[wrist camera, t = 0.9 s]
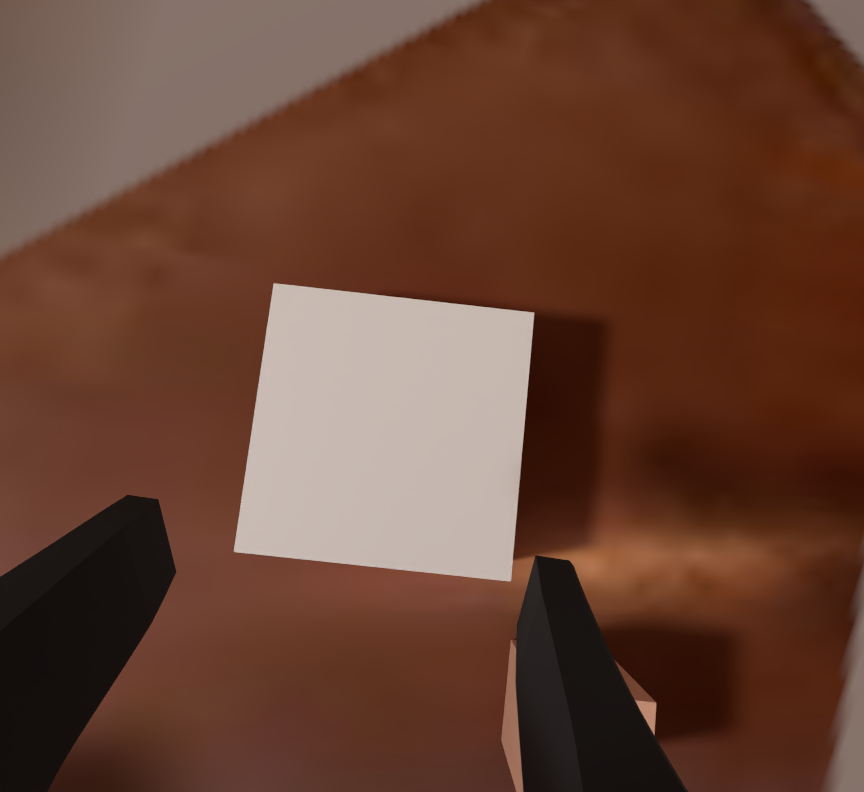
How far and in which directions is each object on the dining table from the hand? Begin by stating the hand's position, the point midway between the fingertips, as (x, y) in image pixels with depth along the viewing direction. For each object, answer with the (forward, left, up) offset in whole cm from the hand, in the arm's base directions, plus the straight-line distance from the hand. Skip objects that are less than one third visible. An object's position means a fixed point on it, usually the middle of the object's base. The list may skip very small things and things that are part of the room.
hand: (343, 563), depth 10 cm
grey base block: (+3, 0, -13) cm, 14 cm away
